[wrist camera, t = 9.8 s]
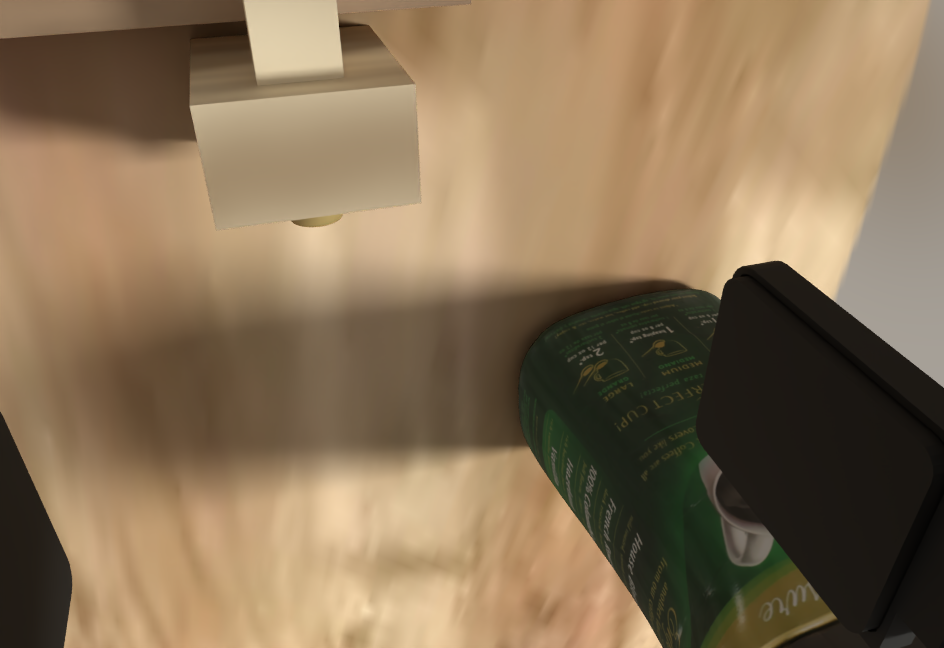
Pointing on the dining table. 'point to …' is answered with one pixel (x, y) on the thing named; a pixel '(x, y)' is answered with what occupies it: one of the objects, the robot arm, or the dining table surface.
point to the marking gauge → (302, 118)
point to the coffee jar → (662, 477)
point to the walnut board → (150, 13)
